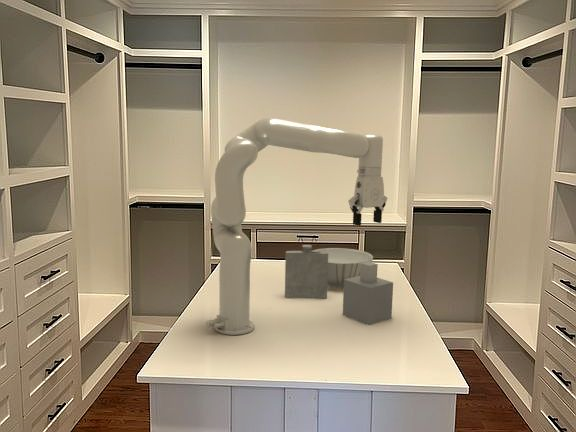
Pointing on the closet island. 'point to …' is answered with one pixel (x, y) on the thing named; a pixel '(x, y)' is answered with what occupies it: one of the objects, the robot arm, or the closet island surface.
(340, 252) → the decorative bowl
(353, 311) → the grey stepped block
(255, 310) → the closet island surface
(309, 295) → the hip flask
